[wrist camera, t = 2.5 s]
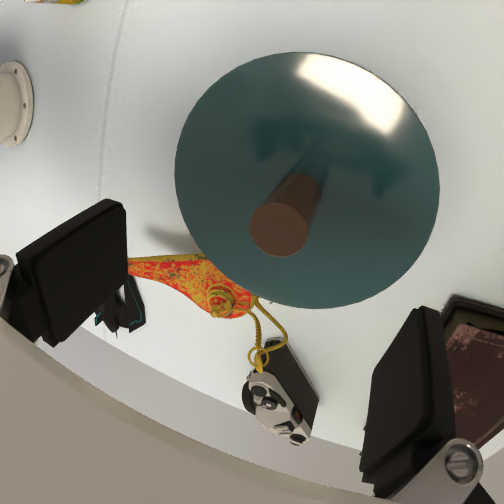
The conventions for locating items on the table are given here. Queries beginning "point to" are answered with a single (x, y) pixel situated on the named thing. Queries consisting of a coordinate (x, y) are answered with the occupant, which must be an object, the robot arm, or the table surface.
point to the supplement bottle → (57, 1)
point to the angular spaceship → (122, 310)
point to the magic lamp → (206, 290)
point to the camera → (282, 395)
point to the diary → (475, 368)
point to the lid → (307, 180)
